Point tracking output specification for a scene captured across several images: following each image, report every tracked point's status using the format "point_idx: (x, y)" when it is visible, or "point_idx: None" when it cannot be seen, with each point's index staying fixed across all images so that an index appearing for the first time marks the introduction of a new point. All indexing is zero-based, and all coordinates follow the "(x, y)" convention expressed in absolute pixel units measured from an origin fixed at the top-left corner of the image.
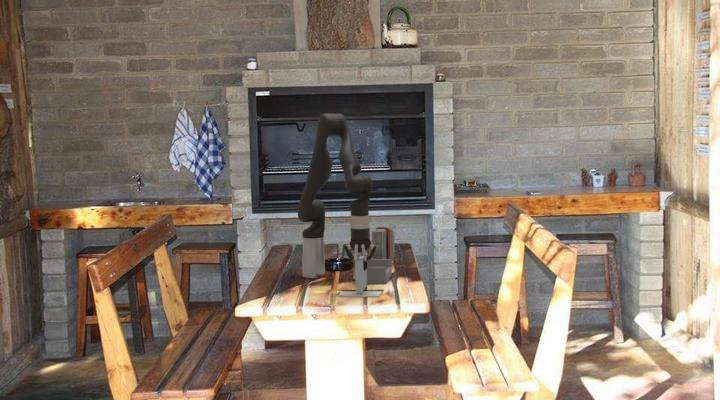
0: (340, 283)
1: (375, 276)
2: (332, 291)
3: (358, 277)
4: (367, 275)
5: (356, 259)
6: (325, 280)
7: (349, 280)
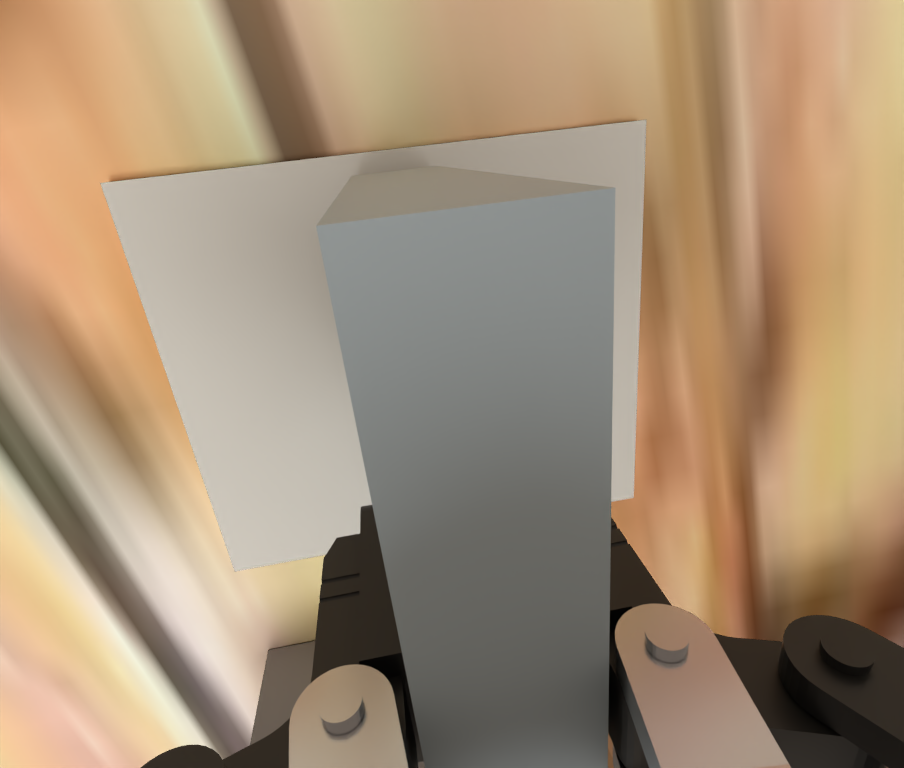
0: None
1: None
2: (732, 371)
3: (409, 178)
4: None
5: (636, 657)
6: None
7: None
